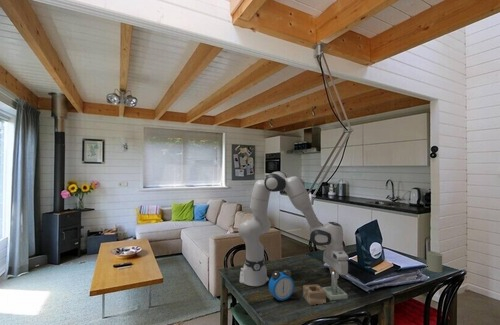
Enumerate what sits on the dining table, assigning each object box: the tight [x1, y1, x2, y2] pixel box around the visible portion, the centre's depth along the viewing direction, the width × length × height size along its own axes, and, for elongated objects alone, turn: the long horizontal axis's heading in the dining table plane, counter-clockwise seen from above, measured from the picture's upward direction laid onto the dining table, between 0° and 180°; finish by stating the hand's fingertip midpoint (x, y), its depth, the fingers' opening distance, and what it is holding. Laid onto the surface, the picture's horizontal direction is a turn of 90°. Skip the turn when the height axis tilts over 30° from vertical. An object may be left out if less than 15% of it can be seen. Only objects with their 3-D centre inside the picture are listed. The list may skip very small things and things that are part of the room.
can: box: [425, 250, 443, 274], centre depth 177 cm, size 9×9×12 cm
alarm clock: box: [268, 269, 295, 302], centre depth 137 cm, size 13×6×15 cm, turn 113°
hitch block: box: [302, 283, 327, 306], centre depth 135 cm, size 9×9×6 cm
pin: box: [330, 268, 338, 294], centre depth 141 cm, size 3×3×14 cm
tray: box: [321, 285, 349, 302], centre depth 141 cm, size 10×10×2 cm
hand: (334, 276), depth 141 cm, fingers closed on pin, 3 cm apart
